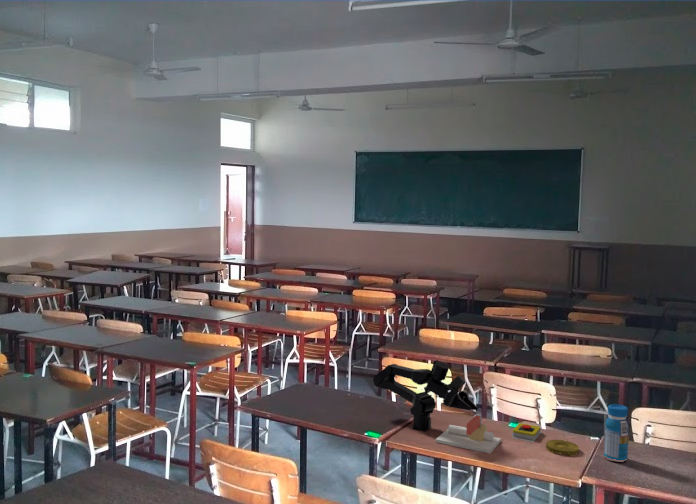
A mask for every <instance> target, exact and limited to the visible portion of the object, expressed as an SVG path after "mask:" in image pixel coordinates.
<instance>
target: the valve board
mask: <svg viewBox="0 0 696 504" xmlns="http://www.w3.org/2000/svg"><path fill="white" fill-rule="evenodd" d="M466 430H467V427H465V426H460V425H454V424H449V425H448V428H447V429H446V430H444V431H443V432H442V433H441V434H440V435H439V436H438V437H436V438H435V443H438V444H443V445H447V446H450V447H451V446H453V447H458V448H462V449H467V450H471V451H476V452H481V453H485V454H492V452H493V451H494V450H495V449H496V448H497V446H498V445H499V444H500V443H501V441H502V438H501V437H495V433H494V432H492V431H488V425H487V424H484V423H481V426H479V427H478V428H477V429H476V430H475V431H474V432H473V433H472V434H471V435H467V434H466Z"/></svg>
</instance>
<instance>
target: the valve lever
mask: <svg viewBox="0 0 696 504" xmlns="http://www.w3.org/2000/svg"><path fill="white" fill-rule="evenodd" d="M481 424H482V414H480V413H477V414H475V416H474V417H472V419H470V421H468V422H467V423H466V428H467V430H466V434H467V435H471V434H472V433H473V432H474V431H475V430H476V429H477V428H478V427H479V426H481Z"/></svg>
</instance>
